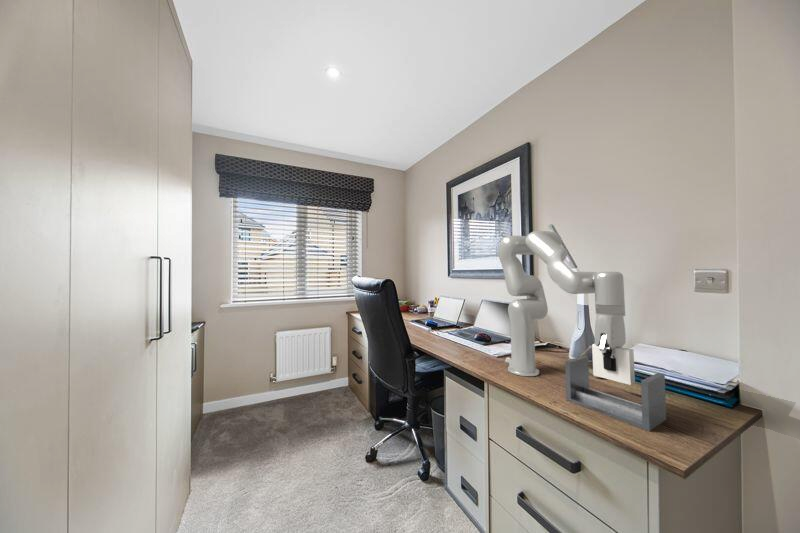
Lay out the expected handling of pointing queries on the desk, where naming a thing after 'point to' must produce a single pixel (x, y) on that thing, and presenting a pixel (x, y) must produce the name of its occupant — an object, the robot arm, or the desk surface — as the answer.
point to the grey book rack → (616, 407)
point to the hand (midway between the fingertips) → (612, 368)
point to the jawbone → (586, 355)
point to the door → (623, 365)
